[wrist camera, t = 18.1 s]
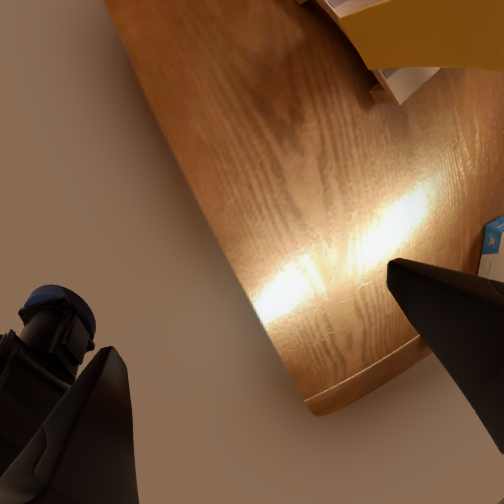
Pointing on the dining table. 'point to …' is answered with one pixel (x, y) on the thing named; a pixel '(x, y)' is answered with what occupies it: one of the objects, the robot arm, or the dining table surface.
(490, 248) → the ink box
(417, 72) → the birch rack
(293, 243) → the dining table surface
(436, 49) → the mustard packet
